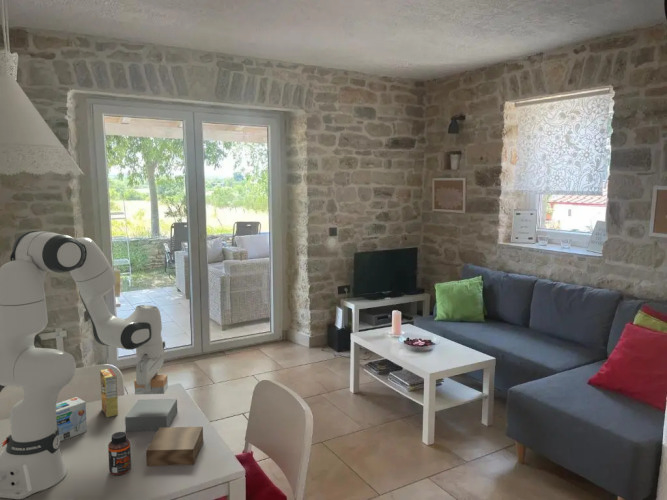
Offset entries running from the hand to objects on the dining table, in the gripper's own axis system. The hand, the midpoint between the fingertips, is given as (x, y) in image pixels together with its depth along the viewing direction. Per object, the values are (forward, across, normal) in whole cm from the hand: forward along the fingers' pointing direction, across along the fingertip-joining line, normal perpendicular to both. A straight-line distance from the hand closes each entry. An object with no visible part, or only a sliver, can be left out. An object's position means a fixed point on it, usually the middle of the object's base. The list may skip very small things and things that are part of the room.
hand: (151, 386), depth 174 cm
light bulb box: (+13, -8, +26) cm, 30 cm away
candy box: (+13, +8, +18) cm, 24 cm away
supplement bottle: (+13, -31, 0) cm, 34 cm away
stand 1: (+13, 0, 0) cm, 13 cm away
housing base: (+2, 0, 0) cm, 2 cm away
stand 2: (+12, -22, -14) cm, 29 cm away
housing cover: (-1, 0, 0) cm, 1 cm away
